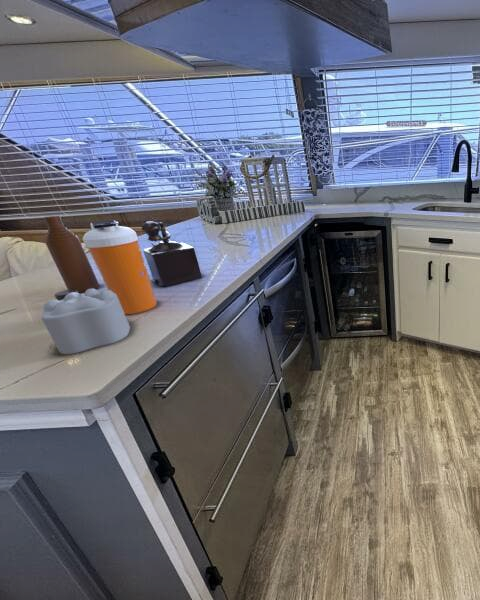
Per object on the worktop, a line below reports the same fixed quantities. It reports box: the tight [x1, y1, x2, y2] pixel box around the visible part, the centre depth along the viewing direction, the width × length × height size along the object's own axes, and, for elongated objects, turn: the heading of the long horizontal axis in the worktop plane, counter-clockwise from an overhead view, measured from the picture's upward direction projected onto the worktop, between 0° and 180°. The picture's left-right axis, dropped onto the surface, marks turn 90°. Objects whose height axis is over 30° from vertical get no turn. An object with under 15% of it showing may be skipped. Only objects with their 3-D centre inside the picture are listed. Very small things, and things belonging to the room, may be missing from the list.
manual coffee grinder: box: [141, 221, 202, 287], centre depth 90 cm, size 16×11×18 cm
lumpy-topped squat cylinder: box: [40, 289, 131, 355], centre depth 62 cm, size 10×13×9 cm
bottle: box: [43, 215, 101, 294], centre depth 86 cm, size 6×6×20 cm
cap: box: [53, 289, 78, 301], centre depth 80 cm, size 4×4×3 cm
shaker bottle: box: [82, 219, 158, 315], centre depth 72 cm, size 9×9×20 cm
